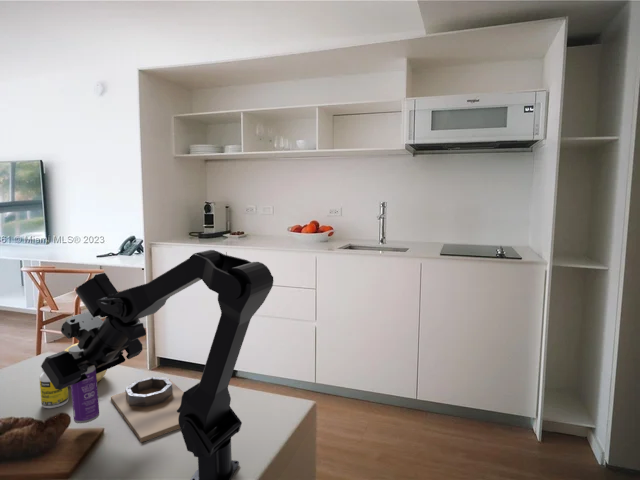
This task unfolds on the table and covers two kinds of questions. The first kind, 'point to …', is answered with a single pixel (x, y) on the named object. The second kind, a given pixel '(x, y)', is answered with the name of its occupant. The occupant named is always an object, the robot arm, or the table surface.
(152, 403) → the iron collar
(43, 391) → the supplement bottle
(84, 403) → the container
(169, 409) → the wooden board
